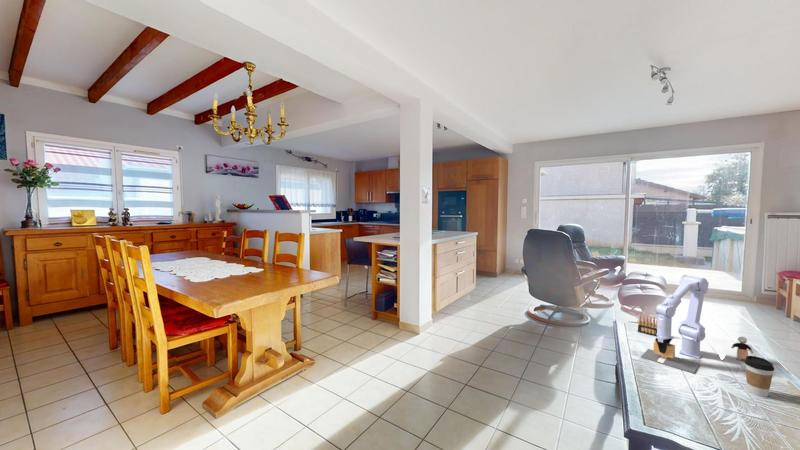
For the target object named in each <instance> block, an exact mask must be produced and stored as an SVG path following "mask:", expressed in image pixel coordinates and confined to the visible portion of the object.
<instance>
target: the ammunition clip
mask: <svg viewBox="0 0 800 450" xmlns="http://www.w3.org/2000/svg"><path fill="white" fill-rule="evenodd" d="M637 323H638V325H637V332H638V333H640V334H645V335H649V336H653V337H656V338H658V337H657V335H656V334H657V319H655V317H653V318H652V316H650V317H649V316H648V315H646V317H645V315H644V314H643V315H642V314H639V316H638V322H637Z"/></svg>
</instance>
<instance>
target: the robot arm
mask: <svg viewBox="0 0 800 450" xmlns="http://www.w3.org/2000/svg"><path fill="white" fill-rule="evenodd" d="M708 289H709V282H708V280H707V279H706V278H705V277H699V276H692V275H687V274H682V276H680V278H679V285H678V286H677V288H676V290H675V291H674V292H673V294H669V295H668V296H667V297H666V298H665V299H664V300H663V302H662V303H659V304H656V306H655V308H654V312H655V316H656V320H657V334H656V335H657V337H656V338H655V339H654V341H656V342H657V344H658V347H659V351H660V352H661V353H665V352H666V348H667V345H668V344H671V342H672V340H674V339H675V336H672V320H673V319H672V318H673V317H674V316H675V314H676V311H677V308H678V306H679V305H680V304H681V303H682V298H683V297H684V296H685V295H686V294H687V293H688V292H690V298H689V303H688V309H687V310H688V311H687V316H686V320H685V319H684V320H682V321H680V324H679V326H678V327H677V332H678V334H679V335H680V337H681V350H680V351H679V354H682V355H685V356H688V357H692V358H695V359H700V358H701V357H702V354H703V352H702V351H701V342H702V341H703V340H705V339H706V327H704V326H703V324H701V323H700V320H701V314H702V309H703V303H704V298H705V294H707V293H708Z"/></svg>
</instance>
